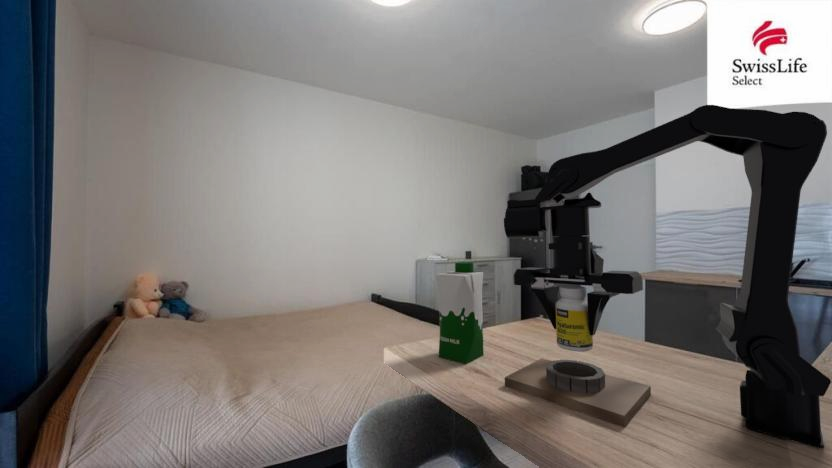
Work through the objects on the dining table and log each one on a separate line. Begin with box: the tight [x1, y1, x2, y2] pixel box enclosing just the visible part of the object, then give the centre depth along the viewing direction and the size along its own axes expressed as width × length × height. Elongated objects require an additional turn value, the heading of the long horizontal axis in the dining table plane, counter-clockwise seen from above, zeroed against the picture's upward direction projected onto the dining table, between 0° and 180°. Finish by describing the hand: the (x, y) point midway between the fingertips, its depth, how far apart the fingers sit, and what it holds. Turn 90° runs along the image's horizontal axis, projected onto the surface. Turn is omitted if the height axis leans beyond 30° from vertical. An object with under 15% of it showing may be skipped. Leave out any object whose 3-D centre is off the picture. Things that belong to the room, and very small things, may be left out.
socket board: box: [504, 358, 652, 428], centre depth 55 cm, size 18×13×4 cm
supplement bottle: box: [555, 285, 594, 352], centre depth 55 cm, size 5×5×10 cm
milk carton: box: [434, 261, 485, 365], centre depth 73 cm, size 9×9×20 cm
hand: (574, 331), depth 55 cm, fingers closed on supplement bottle, 5 cm apart
